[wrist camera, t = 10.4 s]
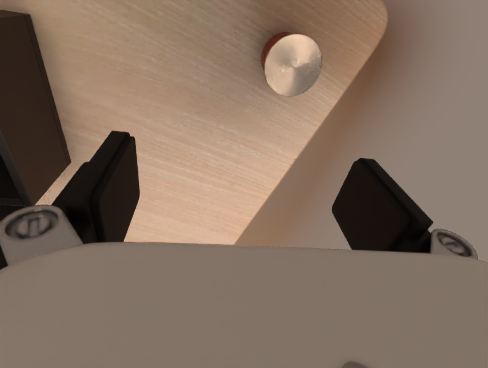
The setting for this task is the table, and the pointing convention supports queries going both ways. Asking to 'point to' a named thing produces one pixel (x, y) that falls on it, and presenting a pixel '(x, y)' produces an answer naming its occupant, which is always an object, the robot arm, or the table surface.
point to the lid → (8, 210)
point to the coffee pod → (291, 63)
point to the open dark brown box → (26, 117)
